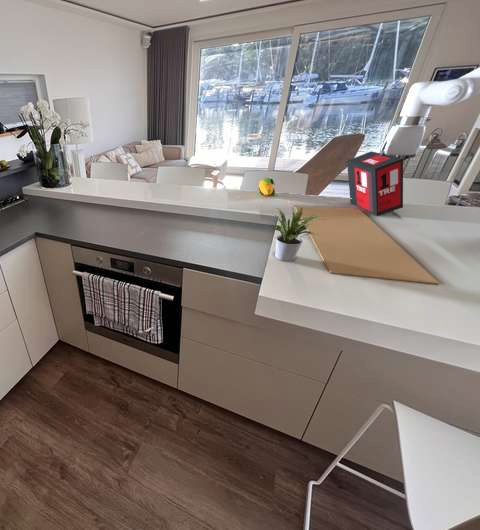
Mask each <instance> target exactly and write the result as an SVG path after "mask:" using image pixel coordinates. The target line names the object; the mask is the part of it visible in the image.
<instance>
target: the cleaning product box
mask: <svg viewBox="0 0 480 530" xmlns="http://www.w3.org/2000/svg"><path fill="white" fill-rule="evenodd" d="M381 153H382V152H376V151H372V150H370V151H367V152H366V153H363V154H361V155H358V156H356V157H353V158H350V159H348V160H346V166H347V178H348V189H349V200H350V201H349V202H350V204H351V205H353V206H355V207H357V208H358V209H360V210H363V211H365V212H367V213H369V214H371V215H373V216H376V217H379V216H383V215H385V214H388V213H391V212H394V211H397V210H400V209H402V208H404V161H403V158H399V157H398V156H396V157H394V156H390V155H382V156H381V155H380V154H381ZM350 198H352V199H350Z"/></svg>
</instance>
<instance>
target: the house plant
mask: <svg viewBox="0 0 480 530" xmlns="http://www.w3.org/2000/svg"><path fill="white" fill-rule="evenodd" d="M276 209H277V211H278V213H279V215H280V218H279V216H277V215H275V214H274V217H276V218H277V220H278V221H279V223H280V225H279V224H274V227H271V228H270V230H273V231H278V232H280V235H278V236H276V237H275V254H274V255H275V256H274V257H275V258H276V259H278V260H279V261H281V262H292V261H293V262H294V260H295V258H296V256H297V254H298V252H299V250H300V248H301V246H302V244H303V240H302V239H301V238H303V237H305V236H308V235H309V234H313V233H312V232H309V231H307V228H306V227H307V226H308V225H315V224H307V225H305V224H306V223H308V222H310V221H313V220H324V219H313V218H316V217H315V216H316V215H319V214H321V213H319V214H315V215H312V216H310V217H309V218H304V219H306V220H304V219H301V216H302V210H303V209H302V208H301V209H299V210H298V211H296V212H295V208H294V207H293V206H292V216H291V217H292V219H291V218H288V219H287V218H286V216H285V215H286V214H284V212H282V210H281V209H280V208H277V207H276ZM312 219H313V220H312ZM302 220H304V221H303V222H302ZM300 222H301V223H300ZM302 234H305V235H302ZM314 234H317V233H314ZM314 234H313V235H314ZM300 235H302V236H300ZM299 236H300V237H299Z"/></svg>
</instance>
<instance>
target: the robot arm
mask: <svg viewBox="0 0 480 530" xmlns="http://www.w3.org/2000/svg"><path fill="white" fill-rule="evenodd" d="M479 93H480V66H479V67H477V68H476V69H474V70H471V71H470V72H469V73H468V72H467V73H466V74H464V75H462V76H460V77H458V78H456V79H449V80H442V81H438V80H431V81H418V82H415V83H413V84H412V85H411V86H410V87H409V91H408V93H407V95H406V97H405V101H404V104H403V107H402V109H401V111H400V114H399V117H398V119H397V121H396V124H395V125H392V127H391V128H390V129H389V131H388V133H387V134H386V137H385V139H384V140H383V143H382V145H381V148H380V153H381V154H380V155H381V156H382V155H390V156H394V157H399V158H403V162H404V161H406V160H408V159H413V158H415V157H416V156H417V155H416V154H417V153H418V152H419V150H420V147H421V145H422V143H423V139H424V136H425V132H426V123H429V122H431V121H432V117H430V116H429V114H430V111H431V109H432V108H433V105H434V106H445V107H447V106H453V105H456V104H459V103H461V102H463V101H465V100H467V99H469V98H471V97H473V96H476V95H477V94H479Z"/></svg>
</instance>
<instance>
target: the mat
mask: <svg viewBox="0 0 480 530" xmlns="http://www.w3.org/2000/svg"><path fill="white" fill-rule="evenodd" d="M301 208H302V209H303V210H302V216H301V218H300V219H304V218H309V217H310V216H312V215H315V214H319V213H321V214H319V215H316V216H315V217H316V218H313V219H324V220H313V219H312V220H313V221H310V222H308V223H306V224H305V225H307V224H315V225H308V226H307V227H306V228H307V229H306V231H309V232H312V233H313V234H314V233H317V234H314V235H313V234H309V233H308V235H309V237H310V239H311V240H312V243H313V244H314V246H315V248H316V250H317V252H318V254H319V255H320V257H321V259H322V261H323V263H324V265H325V266H326V268H327V271H328V272H329V274H334V275H341V276H352V277H363V278H372V279H381V280H391V281H392V280H393V281H402V282H409V283H411V282H412V283H418V284H419V283H420V284H430V285H440V282H439V281H438V280H437V279H435V278H434V277H433V276H432V275H431V274H430V273H429V272H428V271H427V270H426V269H425V268H424V267H422V266H421V265H420V264H419V263H418V262H417V261H416V259H414V258H413V257H412V256H411V255H410V254H409V253H407V252H406V251H405V250H404V249H403V248H402V247H401V246H400V245H399V244H398V243H397V242H395V240H393V238H391V237H390V236H389V235H388V234H387V233H386V232H385V231H384V230H383V229H382V228H380V226H379V225H377V224H376V223H375V222H374V221H373V220H372V219H371V218H369V216H367V215H366V213H364V212H363V211H362V209H361V208H349V207H347V208H346V207H321V206H303V205H302V206H300V205H299V206H298V205H295V206H294V210H296V212H297V211H298V210H299V209H301ZM304 220H306V219H304ZM304 220H301V223H302V222H303V221H304ZM305 225H304V226H305Z"/></svg>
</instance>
